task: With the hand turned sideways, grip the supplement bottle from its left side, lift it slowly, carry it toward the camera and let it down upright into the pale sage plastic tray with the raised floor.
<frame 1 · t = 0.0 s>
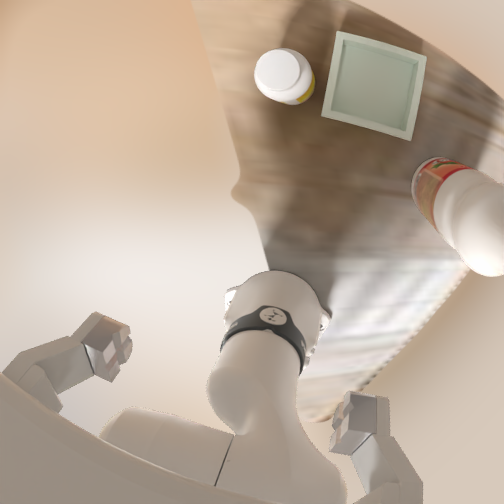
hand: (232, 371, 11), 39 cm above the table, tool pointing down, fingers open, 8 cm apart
fruit juice: (437, 187, 41), on the table
supplement bottle: (292, 83, 41), on the table
sage tray: (371, 87, 38), on the table
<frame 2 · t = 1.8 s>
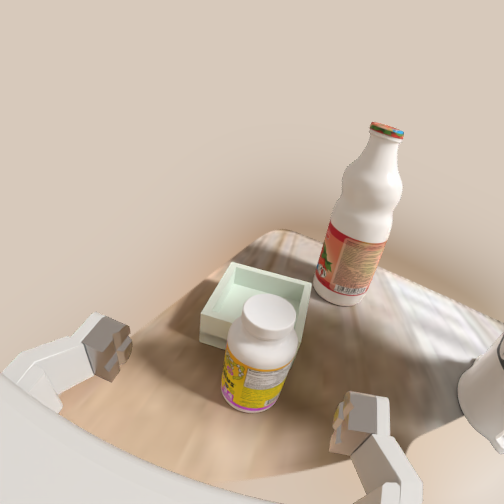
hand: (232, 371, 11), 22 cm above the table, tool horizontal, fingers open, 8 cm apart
fruit juice: (337, 290, 53), on the table
supplement bottle: (249, 392, 34), on the table
sage tray: (256, 324, 44), on the table
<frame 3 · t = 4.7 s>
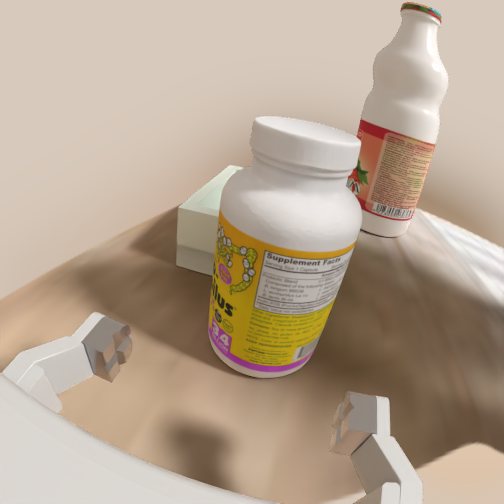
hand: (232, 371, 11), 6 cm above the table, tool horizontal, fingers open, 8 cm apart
fruit juice: (371, 221, 39), on the table
supplement bottle: (260, 342, 20), on the table
sage tray: (266, 248, 29), on the table
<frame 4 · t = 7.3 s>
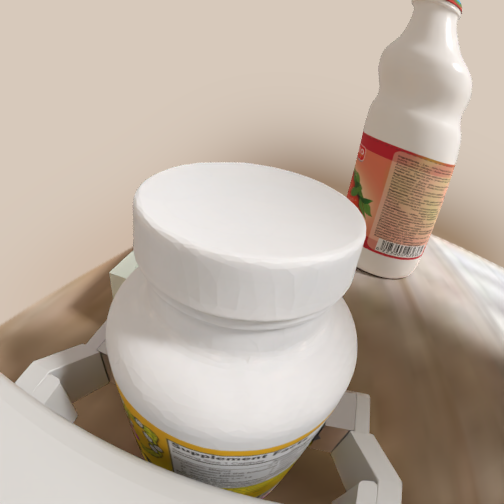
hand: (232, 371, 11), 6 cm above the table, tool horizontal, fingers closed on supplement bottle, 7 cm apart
fruit juice: (374, 256, 32), on the table
supplement bottle: (214, 455, 13), on the table, touching gripper
sage tray: (237, 307, 23), on the table
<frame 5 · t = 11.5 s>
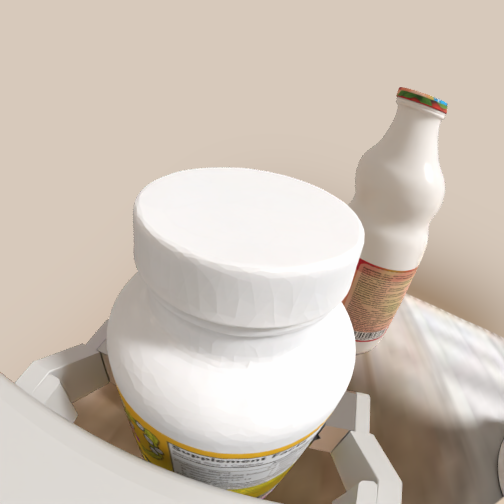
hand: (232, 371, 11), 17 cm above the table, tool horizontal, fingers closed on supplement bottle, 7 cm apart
fruit juice: (345, 329, 38), on the table
supplement bottle: (214, 456, 13), point 10 cm above the table, touching gripper
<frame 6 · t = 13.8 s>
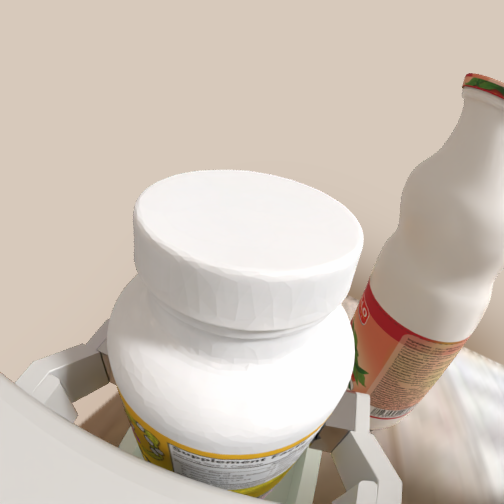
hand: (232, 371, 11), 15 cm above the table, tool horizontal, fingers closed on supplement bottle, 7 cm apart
fruit juice: (367, 393, 28), on the table
supplement bottle: (214, 457, 13), point 9 cm above the table, touching gripper
sage tray: (211, 493, 18), on the table
when the fingers open (12 cm above the table, at t = 15.5 s): supplement bottle drops 4 cm, resting on sage tray.
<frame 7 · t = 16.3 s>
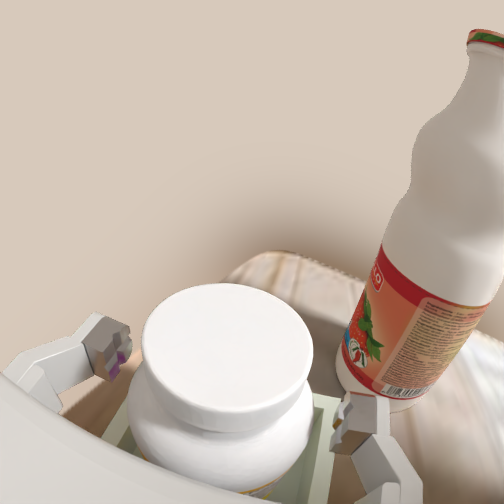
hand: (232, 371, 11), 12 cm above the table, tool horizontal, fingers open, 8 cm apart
fruit juice: (379, 374, 26), on the table
supplement bottle: (212, 476, 15), point 2 cm above the table, touching sage tray
sage tray: (213, 484, 16), on the table
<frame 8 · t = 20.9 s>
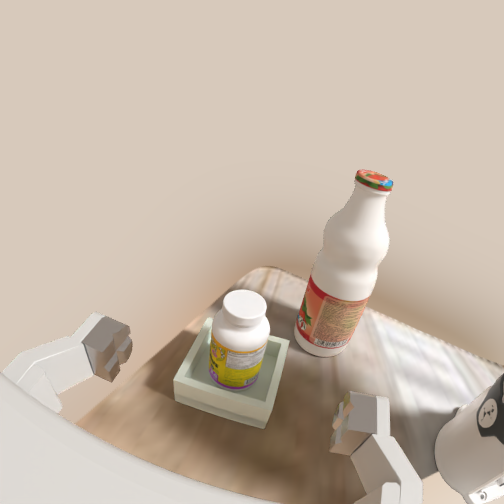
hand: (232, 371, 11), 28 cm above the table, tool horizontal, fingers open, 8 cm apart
fruit juice: (319, 338, 51), on the table
supplement bottle: (232, 374, 41), point 2 cm above the table, touching sage tray
sage tray: (232, 381, 42), on the table
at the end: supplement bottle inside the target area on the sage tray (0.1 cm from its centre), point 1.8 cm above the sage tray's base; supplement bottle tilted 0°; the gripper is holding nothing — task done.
